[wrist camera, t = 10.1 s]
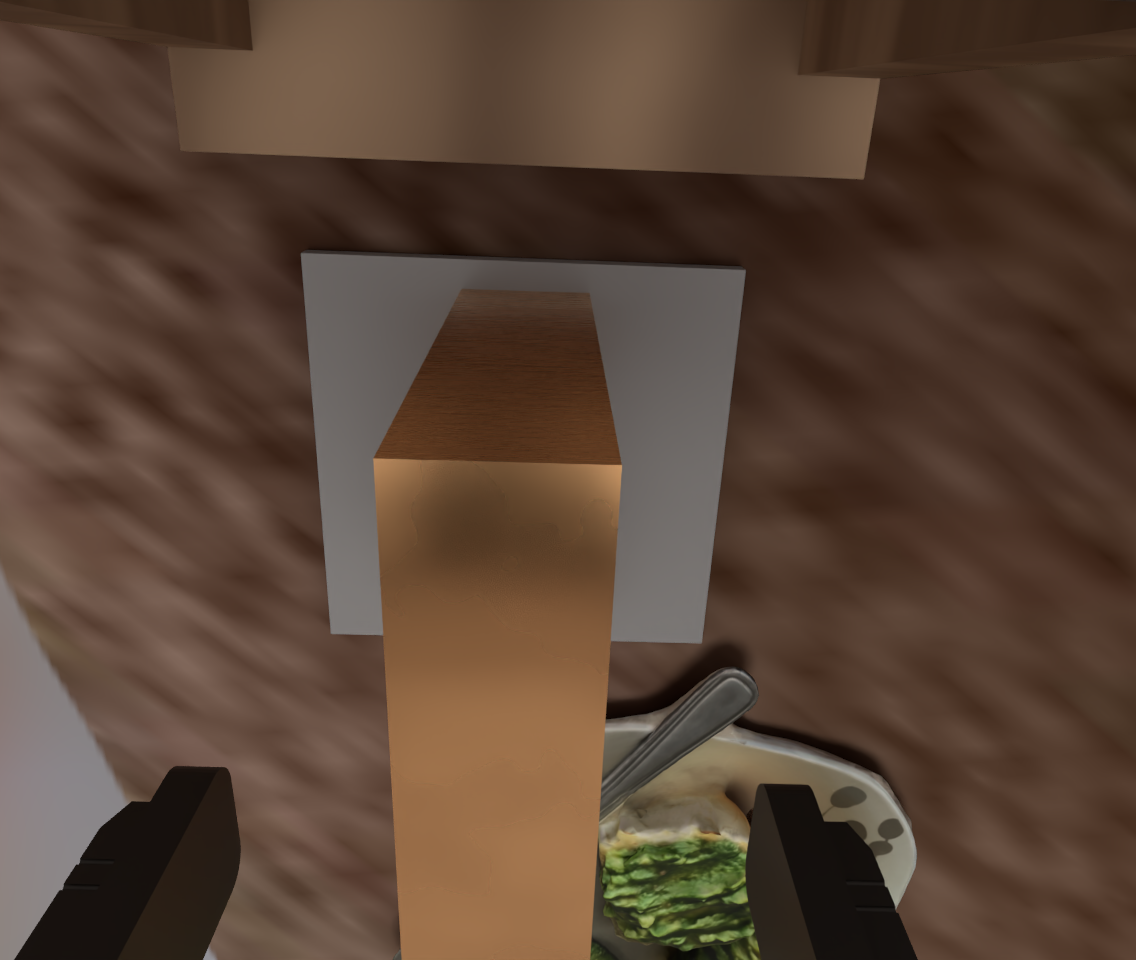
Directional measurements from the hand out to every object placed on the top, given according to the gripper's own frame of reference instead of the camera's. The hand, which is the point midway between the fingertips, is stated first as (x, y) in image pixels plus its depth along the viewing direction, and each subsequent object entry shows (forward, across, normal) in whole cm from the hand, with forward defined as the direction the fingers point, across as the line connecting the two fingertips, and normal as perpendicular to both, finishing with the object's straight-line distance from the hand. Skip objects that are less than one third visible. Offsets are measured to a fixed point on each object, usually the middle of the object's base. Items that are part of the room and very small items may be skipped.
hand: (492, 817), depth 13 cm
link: (+14, 0, 0) cm, 14 cm away
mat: (+14, 0, 0) cm, 14 cm away
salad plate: (+15, -5, +18) cm, 24 cm away
